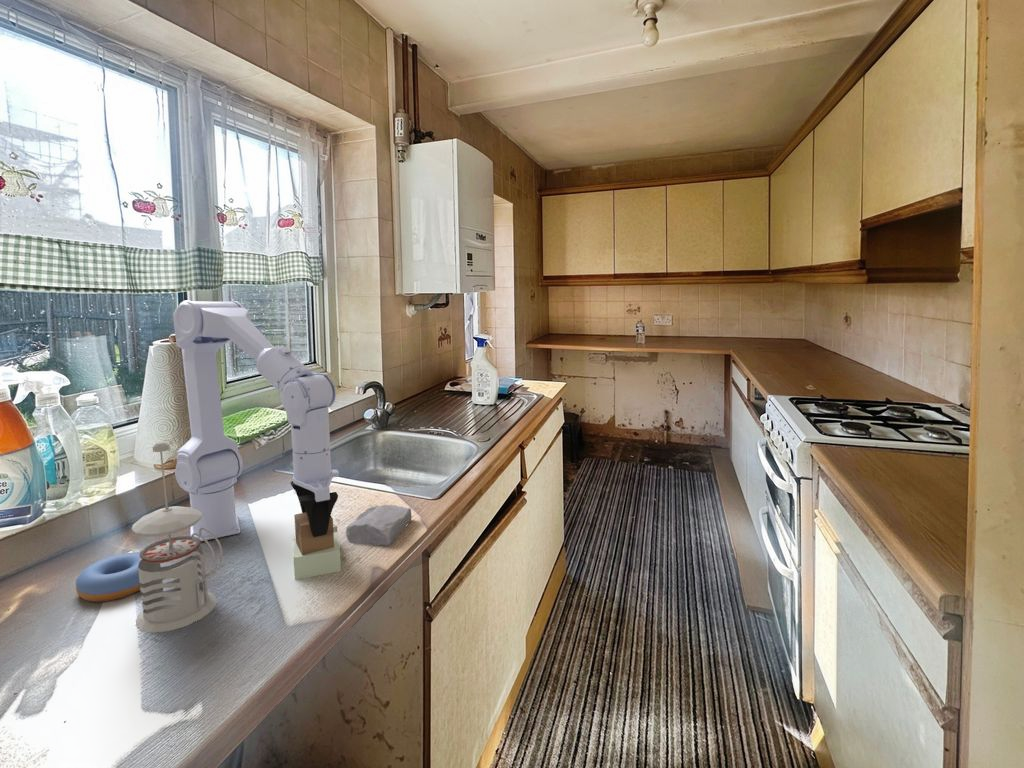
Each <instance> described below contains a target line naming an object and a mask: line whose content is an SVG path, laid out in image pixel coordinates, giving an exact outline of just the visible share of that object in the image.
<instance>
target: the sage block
mask: <svg viewBox="0 0 1024 768" xmlns="http://www.w3.org/2000/svg"><path fill="white" fill-rule="evenodd" d="M340 548H341V547H340V543H339V536H338V531H337V532H334V547H333V548H329V549H325V550H321V551H317V552H313V553H309V554H305V555H302V554H301V552H300V550H299V548H298V546H297V544H296V538H294V539H293V568H294V569H293V570H294V571H293V572H294V580H300V579H305V578H311V577H315V576H316V577H317V576H321V575H322V576H323V575H327V574H331V573H332V574H333V573H337V572H341V570H342V569H341V567H342V565H341V549H340Z"/></svg>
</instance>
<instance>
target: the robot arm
mask: <svg viewBox="0 0 1024 768" xmlns="http://www.w3.org/2000/svg"><path fill="white" fill-rule="evenodd" d="M172 318H173V327H174V328H173V330H174V335H175V337H174V338H175V341H176V342H175V343H176V347H178V348H180V349H181V353H182V364H183V371H184V372H183V373H184V381H185V389H186V400H187V409H188V416H189V426H190V427H189V428H190V434H191V438H190V439H189V440H188V441H186V443H185V444H184V445H182V446H181V447H180V448H179V449H178V450H177V451H176V466H175V470H174V474H175V475H174V476H175V479H176V481H177V484H178V486H179V487H180V488H181V489H182V490H184V491H185V492H187V493H188V494H189V503H190V508H194V509H197V510H199V511H200V512H202V517H201V519H200V520H199V521H198V522H197V523H196V524H195V525H193V526H191V527H190V536H191V535H192V534H193V533H197V534H199V530H200V528H205V529H207V530H209V531H211V532H212V533H213V534H214V535H215V536H216V537H217V539H218V538H223V537H227V536H228V537H229V536H233V535H238V534H240V533H241V528H240V522H239V519H238V518H239V517H238V514H237V512H236V501H235V487H234V484H235V483H238V482H237V481H238V477H240V476H241V474H242V471H243V467H244V463H243V462H244V461H243V459H242V455H241V454H240V451H239V448H238V447H239V446H238V442H237V441H235V440H234V439H233V438H230V437H228V436H226V435H225V431H224V422H223V421H224V420H223V411H222V410H223V409H222V401H221V393H220V390H221V389H220V380H219V372H218V361H217V360H218V359H217V352H218V351H219V350H220V349H221V348H222V347H223V346H224V345H226V344H228V343H229V342H232V343H233V344H235V345H236V346H237V347H239V348H240V349H241V350H242V351H244V352H245V353H246V354H247V355H249V356H250V357H251V358H253V360H255V361H256V370H257V372H258V373H259V374H260V375H261V376H262V377H263V378H264V379H265V380H266V381H267V382H268V383H269V384H270V385H272V386H273V388H274V389H275V390H276V391H278V392H279V393H280V394H279V397H280V403H281V405H282V407H283V409H284V410H285V413H286V421H288V422H287V423H288V424H290V432H291V433H290V434H291V448H292V466H293V476H292V481H290V485H291V487H292V489H293V490H294V491H295V493H296V496H297V498H298V502H299V505H300V509H301V513H305V512H306V513H307V516H308V520H309V525H310V529H311V533H312V535H313V537H318V536H322V535H326V534H327V531H328V526H329V521H330V516H331V515H332V511H333V509H334V507H335V505H336V503H337V501H338V499H339V494H338V492H337V491H332V492H330V485H331V483H332V480H333V479H334V478H337V477H339V475H340V472H339V471H338V469H332V461H331V438H330V437H331V436H330V417H329V415H330V413H329V408H330V407H331V406H332V405H334V402H335V401H336V396H337V391H336V387H335V384H334V382H333V380H332V379H331V378H330V377H329V375H328V374H326V373H324V372H316V371H314V370H312V371H311V369H310V368H309V367H308V366H306V365H305V364H304V363H303V362H301V361H300V359H298V358H297V357H296V356H295V355H294V354H293V353H292V350H291V349H290V348H288V347H284V346H274V345H272V343H271V342H270V341H269V340H268V339H267V338H266V337H265V336H264V335H263V333H262V332H261V331H260V330H259V329H258V328H257V327H256V326H255V325H254V324H253V322H252V321H251V317H250V312H249V310H248V309H247V308H245V307H244V306H243V305H242V303H240V302H239V301H236V300H230V301H192V300H183V301H180V303H179V304H178V306H177V307H176V309H175V310H174V311H173V313H172ZM331 517H332V516H331ZM194 536H195V537H197V538H198V536H196V535H194ZM201 536H203V537H204V538H205V539H206V540H207V541H208V540H214V539H215V538H214V537H213V536H212V535H211V534H210V533H209V532H207V531H205V530H202V531H201ZM199 539H200V540H201V542H205V541H204V540H203V539H202V538H199Z"/></svg>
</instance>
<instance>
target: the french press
mask: <svg viewBox="0 0 1024 768" xmlns="http://www.w3.org/2000/svg"><path fill="white" fill-rule="evenodd" d="M168 450H170V445H169V444H168V442H165V441H157V442H156V443H155V444H153V445H152V452H153V453H160V454H159V455H160V464H161V472H162V481H163V482H162V484H163V493H164V501H165V507H163V508H159V509H155V510H154V511H152V512H150V513H148V514H145V515H142V516H141V517H140V518H139V519H138V520H137V521H135V522H134V523H133V524H132V526H131V530H132V531H133V533H135V534H136V535H137V536H142V537H160V536H167V535H168V537H167V538H164V539H161V540H160V539H159V540H156V541H154V542H152V543H151V544H149V545H146V546H145V547H144V548H143V549H142V550H141V551H140V556H139V557H140V558H142V560H141V561H140V562H139V565H138V572H139V582H140V583H141V585H140V590H139V591H140V593H141V595H140V596H141V598H140V599H141V606H142V610H141V612H140V613H139V614H138V615H137V616H136V617H137V619H135V622H136V625H135V627H137V626H138V627H139V628H138V627H137V628H138V630H139V631H141V632H146V633H162V632H163V633H164V632H171V631H174V630H178V629H180V628H184V627H187V626H190V625H192V624H194V623H196V622H197V620H198V621H200V620H202V619H203V618H204V617H205V616H207V615H208V614H210V613H211V612H212V611H213V609H214V608H215V607H216V606H217V596H216V595H214V594H212V592H210V591H208V589H209V588H208V579H209V577H211V575H213V574H214V573H216V572H217V571H218V570H219V569H220V567H221V564H222V560H223V547H222V545H221V542H220V540H219V539H218V538H217V537H216V536H215V535H214V534H213V533H212V532H211V531H209V530H207V529H205V528H200V530H199V534H197V533H193V534H192V535H191V534H190V535H189V534H188V535H180V536H179V535H178V536H172V537H171V535H172V534H175V533H179V532H182V531H184V530H188V529H190V528H191V526H193V525H195V524H196V523H197V522H198V521H199V520H200V519H201V517H202V512H200V511H199V510H197V509H194V508H191V507H189V506H179V505H174V506H168V498H167V489H166V481H165V480H166V477H165V470H164V458H163V457H164V456H163V452H167V451H168ZM202 530H205V531H207V532H209V533H210V534H211V535H212V536H213V537H214V539H215V541H216V543H217V545H218V548H219V563H218V565H217V567H216V568H215V566H216V559H215V550H214V548H213V547H212V545H211V544H210V542H209V541H208V540H206V539H205V538H204V537H203V536H201V531H202ZM194 535H196V536H198V538H197V537H195V536H194ZM199 538H202V539H203V540H204V541H203V542H205V543H206V544H207V546H208V548H209V549H210V550H211V556H212V566H211V567H212V568H211V569H210V572H208V573H207V569H206V560H205V559H206V557H205V556H206V555H205V548H203V547H202V546H201V545H202V541H201V540H200V539H199ZM194 552H198V553H199V554H201V555H190V554H193V553H194ZM189 555H190V556H189ZM186 556H188V557H186ZM183 557H186V558H184V559H182V560H180V561H178V562H175V563H173V564H170V565H166V566H162V565H161V564H164V563H168V562H173V561H174V560H177V559H181V558H183ZM197 560H198V561H199V562H200V563H199V562H198V561H197ZM190 561H192V562H191V563H189V562H190ZM186 563H188V564H186ZM184 564H185V565H184ZM199 569H200V570H201V571H199ZM199 577H201V578H199ZM167 579H168V580H170V579H174V580H171V581H167V582H163V581H164V580H167ZM165 588H166V589H167V588H169V589H168V590H164V589H165ZM195 621H196V622H195ZM193 622H194V623H193Z"/></svg>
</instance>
